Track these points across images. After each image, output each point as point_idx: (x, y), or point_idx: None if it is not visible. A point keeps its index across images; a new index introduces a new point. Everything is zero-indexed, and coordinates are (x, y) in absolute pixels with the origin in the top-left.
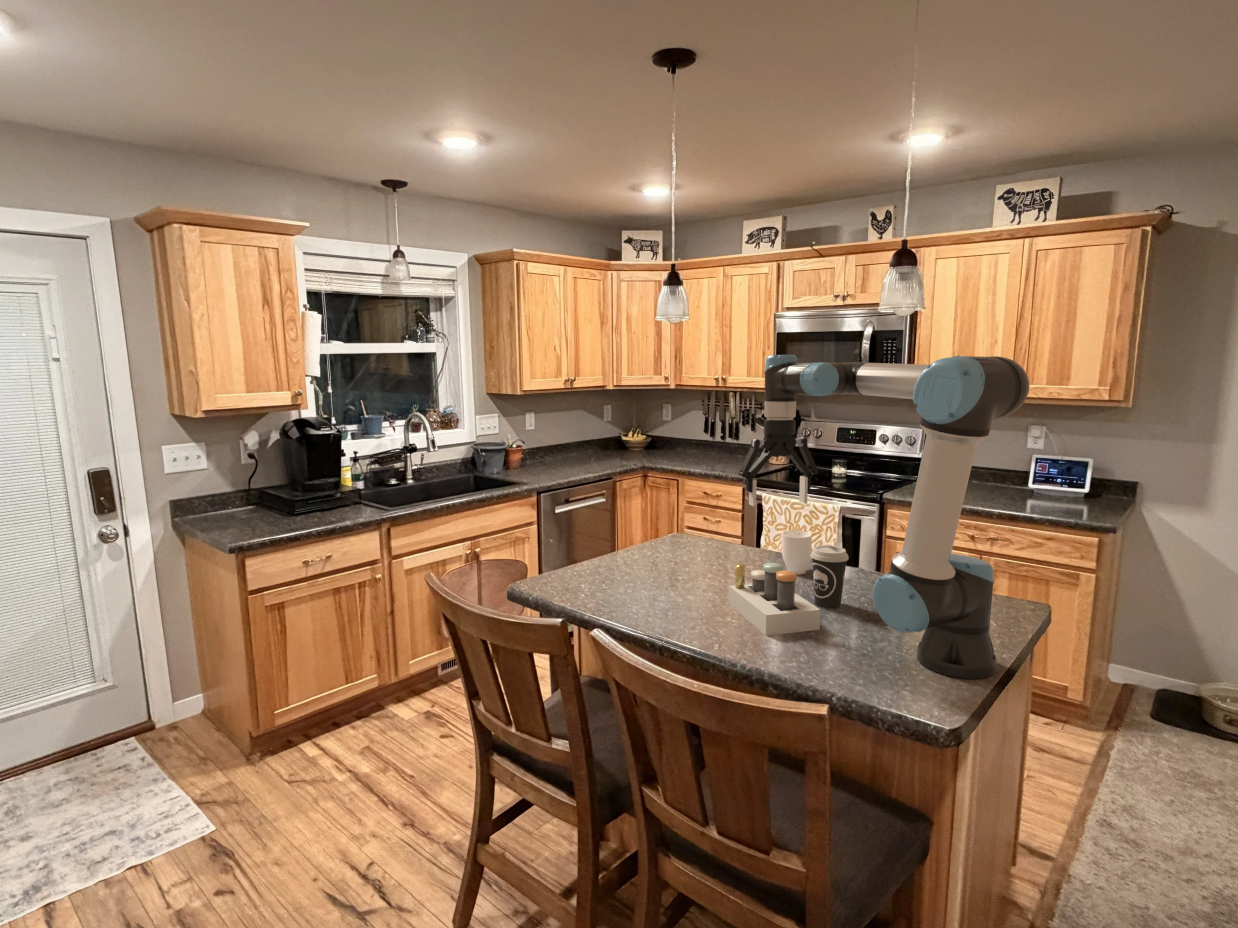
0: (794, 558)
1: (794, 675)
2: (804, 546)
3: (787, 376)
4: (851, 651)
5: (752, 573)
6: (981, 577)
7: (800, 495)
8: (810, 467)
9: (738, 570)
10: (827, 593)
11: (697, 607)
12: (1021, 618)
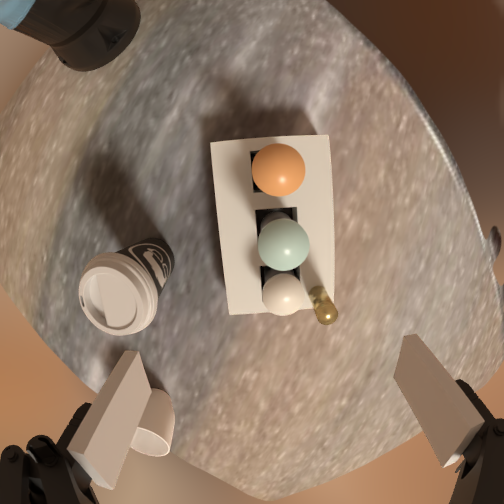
0: (160, 405)
1: (325, 16)
2: None
3: None
4: (207, 61)
5: (303, 295)
6: None
7: (140, 404)
8: (41, 501)
9: (333, 304)
10: (153, 245)
11: (378, 284)
12: None
